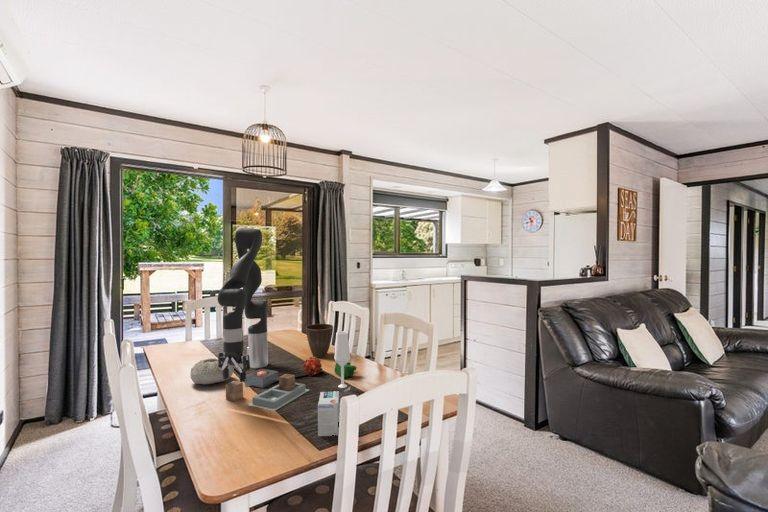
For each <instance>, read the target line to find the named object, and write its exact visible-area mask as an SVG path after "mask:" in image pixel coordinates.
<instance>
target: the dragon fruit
mask: <svg viewBox="0 0 768 512" xmlns="http://www.w3.org/2000/svg"><path fill="white" fill-rule="evenodd" d="M322 365H323V364H322V363H321V359H320V358H318V357H314V356H310V357H309V358H308V359H306V360H305V361H304V364H303V370H304V372H305V373H306V375H308V377H313V376H315V375H319V373H320V372H322V371H323V366H322Z"/></svg>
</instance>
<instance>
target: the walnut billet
mask: <svg viewBox="0 0 768 512" xmlns="http://www.w3.org/2000/svg"><path fill="white" fill-rule="evenodd" d="M243 382H244V381H243ZM243 382H240V380H239V381H237V380H232V381H230V382H228V383H226V384H225V400H226V401H230V402H236V401H238V400H241V399H242V398H244V387H243V386H244V383H243Z"/></svg>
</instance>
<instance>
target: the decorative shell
mask: <svg viewBox="0 0 768 512" xmlns="http://www.w3.org/2000/svg"><path fill="white" fill-rule="evenodd" d="M221 364H222V362H221ZM228 369H229V378H227V379H223V370H222V368H219V367H218V358H216V357H215V358H206V359H201V360H199V361H198V362H196V363H195V364H194V365H193V366H192V367H191V369H190V379H191V382H193V383H194V384H197V385H205V386H206V385H212V384H216V383H217V384H218V383H222V382H226V381H228V380H229V379H230V378H231V376H233V373H234V369H235V368H234V366H233V365H230V366H229V367H228Z"/></svg>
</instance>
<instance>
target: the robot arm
mask: <svg viewBox="0 0 768 512" xmlns="http://www.w3.org/2000/svg"><path fill="white" fill-rule="evenodd" d="M234 242H235V243H234V244H235V249H236V252H237V256H238V260H237V261H236V262H234V264H233V265H232V268H231V269H230V273H229V276H228V279H227V280H226V282H225V283H224V284H223V286H222V287H221V288H220V290H219V291H218V295H217V302H218V304H219V305H220V306H221V307H224V308H225V307H226V308H227V307H229V308H230V307H232V308H233V307H234V308H235V309H234V310H233V311H230V312H226V313H224V315H223V317H222V319H223V322H222V323H223V327H222V328H223V331H222V345H223V346H222V349H223V350H222V351H221V352H219V353H218V358H217V359H218V367H219V368H222V370H223V379H227V378H229V369H228V367H229V366H230V365H233V367H235V368H236V369H237V370H238V371H239V382H245V379H246V375H247V374H246V372H247V371H250V370H251V369H263V368H265V367H267V366H268V365H269V356H268V355H269V353H268V351H269V349H268V343H269V342H268V302H267V301H266V300H265V299H256V300H255V299H254V300H252V298H253V297H254V294H255V293H256V291H258V289H259V288H260V286H261V285H262V281H263V280H262V269H261V268H260V266H259V264H258V263H257V262H256V261H255V260H256V258H257V256H258V253H259V251H260V249H261V247H262V243H263V233H262V231H261V230H260V229H258V228H248V227H239V228H236V230H235V233H234ZM243 316H245V318H246V319H249V320H254V319H255V320H257V319H260V320H259V321H258V322H256V323H254V324H251V325H250V326H248V328H247V337H248V338H247V339H248V343H247V344H248V346H247V347H246V354H245V355H244V354H243V352H244V349H245V348H244V329H243ZM221 362H222V364H221ZM229 379H230V378H229ZM227 380H228V379H227Z"/></svg>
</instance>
